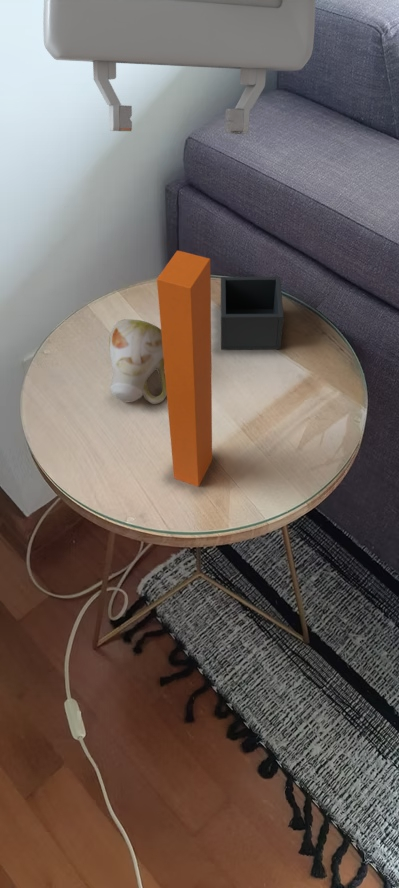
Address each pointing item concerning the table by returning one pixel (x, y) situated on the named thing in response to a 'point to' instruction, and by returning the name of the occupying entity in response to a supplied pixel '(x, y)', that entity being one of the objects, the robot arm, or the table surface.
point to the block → (187, 362)
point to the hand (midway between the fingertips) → (179, 132)
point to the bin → (251, 313)
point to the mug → (136, 360)
